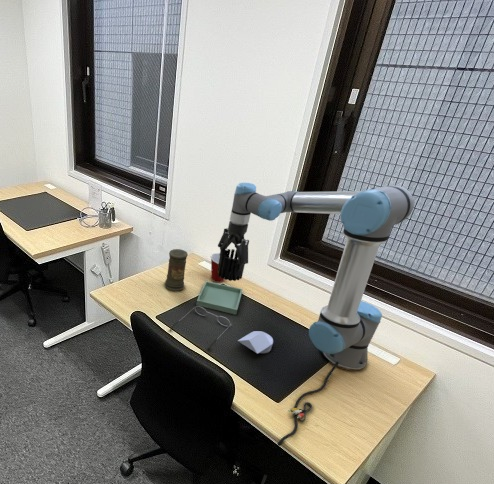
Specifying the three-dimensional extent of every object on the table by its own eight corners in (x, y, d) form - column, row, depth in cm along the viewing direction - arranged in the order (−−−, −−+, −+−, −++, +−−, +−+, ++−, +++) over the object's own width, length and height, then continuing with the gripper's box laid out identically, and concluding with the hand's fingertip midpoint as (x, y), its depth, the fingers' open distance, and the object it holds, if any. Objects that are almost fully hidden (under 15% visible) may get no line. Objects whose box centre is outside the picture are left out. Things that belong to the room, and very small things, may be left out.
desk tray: (236, 314, 164) (237, 309, 162) (196, 305, 169) (196, 300, 168) (241, 293, 179) (242, 289, 177) (204, 285, 184) (205, 280, 182)
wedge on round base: (255, 360, 139) (275, 347, 146) (259, 346, 136) (280, 333, 143) (235, 347, 145) (256, 335, 152) (239, 333, 142) (259, 321, 149)
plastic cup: (223, 287, 183) (227, 265, 177) (203, 279, 188) (206, 258, 182) (232, 278, 190) (237, 257, 184) (212, 271, 196) (216, 250, 189)
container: (162, 282, 184) (165, 249, 175) (179, 280, 187) (183, 247, 177) (169, 292, 177) (173, 258, 168) (186, 290, 180) (191, 256, 170)
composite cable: (306, 402, 123) (308, 397, 122) (319, 413, 120) (321, 407, 118) (286, 414, 119) (288, 408, 117) (298, 425, 115) (301, 420, 114)
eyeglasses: (231, 328, 156) (233, 320, 153) (208, 352, 143) (210, 344, 141) (193, 310, 165) (194, 303, 163) (169, 332, 153) (170, 324, 150)
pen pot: (247, 278, 164) (226, 282, 161) (232, 267, 173) (212, 271, 169) (251, 257, 159) (230, 261, 156) (236, 247, 168) (216, 251, 164)
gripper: (265, 232, 146) (253, 281, 157) (229, 211, 164) (220, 256, 175) (249, 234, 143) (238, 284, 155) (214, 213, 161) (207, 259, 173)
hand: (229, 269), depth 165 cm, fingers closed on pen pot, 11 cm apart
